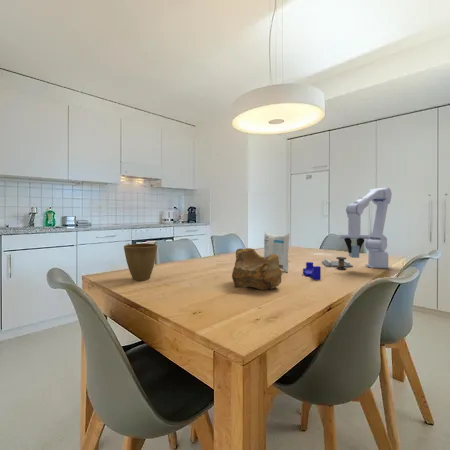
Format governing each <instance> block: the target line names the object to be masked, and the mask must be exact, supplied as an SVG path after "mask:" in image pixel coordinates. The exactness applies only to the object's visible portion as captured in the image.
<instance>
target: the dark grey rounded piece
mask: <svg viewBox="0 0 450 450" xmlns="http://www.w3.org/2000/svg"><path fill="white" fill-rule="evenodd" d="M336 259H337V260H338V261H339V266H338V267H335V268H336V270H342V269H343V270H344V269H345V270H347V267H344V259H345V260H347V257H345V256H336ZM345 270H344V271H345Z"/></svg>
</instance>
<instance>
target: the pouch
mask: <svg viewBox="0 0 450 450" xmlns="http://www.w3.org/2000/svg"><path fill="white" fill-rule="evenodd" d="M263 241H264V242H263V246H264V248H263V257H264V258H266V257H267V256H269V255H271V254H274V255H277V256H278V258H279V267H280V269H281V271H284V272H285V273H287V274H288V273H289V245H290V233H287V234H284V235H283V234H282V235H279V234H278V235H276V234H272V233H268V231H264V240H263Z"/></svg>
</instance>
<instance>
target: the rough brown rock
mask: <svg viewBox="0 0 450 450" xmlns="http://www.w3.org/2000/svg"><path fill="white" fill-rule="evenodd" d="M231 278H232V281H233V284H234V286H235V288H243V287H251V288H254V289H258V290H261V291H267V290H271V289H274V288H277V287H279V286H280V285H281V283H282V269H280V267H279V258H278V256H277V255H274V254H271V255H269V256H267V257H266V258H264V256H262V255H260V254H258V252H257V251H256V250H255V248H251V247H250V248H249V247H248V248H237V249H236V250H235V262H234V267H233V268H232V273H231Z"/></svg>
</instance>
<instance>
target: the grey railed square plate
mask: <svg viewBox="0 0 450 450" xmlns="http://www.w3.org/2000/svg"><path fill="white" fill-rule="evenodd" d="M321 263H322V265H324V266H325V268H336V267H338V266H339V260H329V258H324V260H321ZM344 267H346V268H351V267H354V265H352V264H351V263H350V261H348V260H347V259H344Z"/></svg>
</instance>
